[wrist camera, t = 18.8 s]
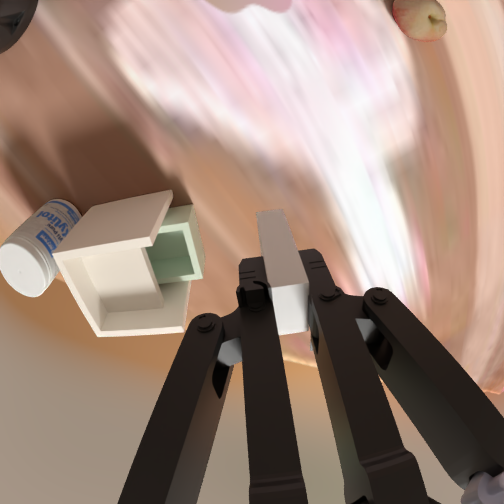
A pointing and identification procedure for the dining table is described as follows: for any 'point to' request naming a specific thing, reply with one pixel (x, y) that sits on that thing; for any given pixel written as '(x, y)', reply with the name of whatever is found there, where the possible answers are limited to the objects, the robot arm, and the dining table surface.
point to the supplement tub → (37, 247)
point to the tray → (178, 247)
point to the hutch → (122, 269)
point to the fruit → (420, 19)
